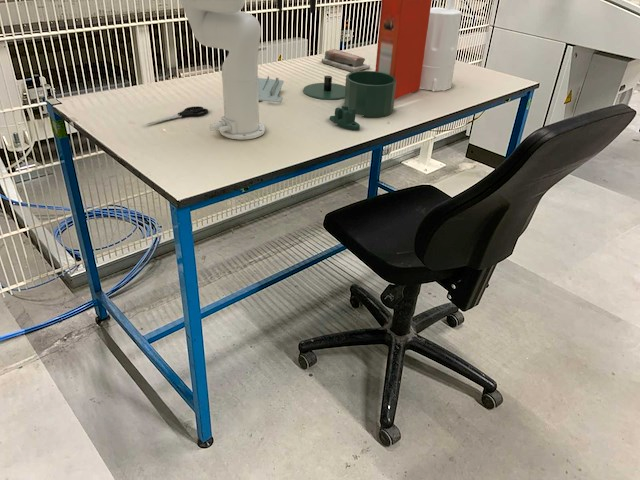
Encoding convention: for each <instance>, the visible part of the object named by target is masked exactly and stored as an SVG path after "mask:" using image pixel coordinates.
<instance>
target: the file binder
mask: <svg viewBox="0 0 640 480" xmlns="http://www.w3.org/2000/svg"><path fill="white" fill-rule="evenodd" d="M432 1H433V0H381V3H380V4H381V6H380V15H379V17H380V18H379V28H378V38H377V48H376V49H377V50H376V60H375V69H374V71H377V72H383V73H386V74H389V75H392V76H393V77H395V78H396V81H397V82H396V90H395V98H394V100H396V99H398V98H401V97H404V96H406V95H409V94H414V93H416V92H418V91H420V81H421V73H422V66H423V59H424V52H425V45H426V37H427V30H428V23H429V16H430V9H431V8H432Z"/></svg>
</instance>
